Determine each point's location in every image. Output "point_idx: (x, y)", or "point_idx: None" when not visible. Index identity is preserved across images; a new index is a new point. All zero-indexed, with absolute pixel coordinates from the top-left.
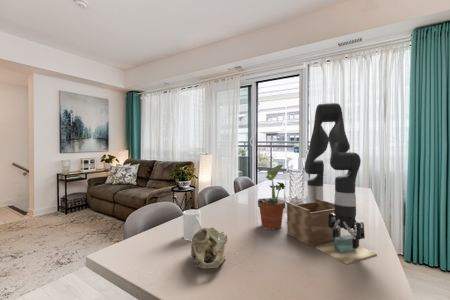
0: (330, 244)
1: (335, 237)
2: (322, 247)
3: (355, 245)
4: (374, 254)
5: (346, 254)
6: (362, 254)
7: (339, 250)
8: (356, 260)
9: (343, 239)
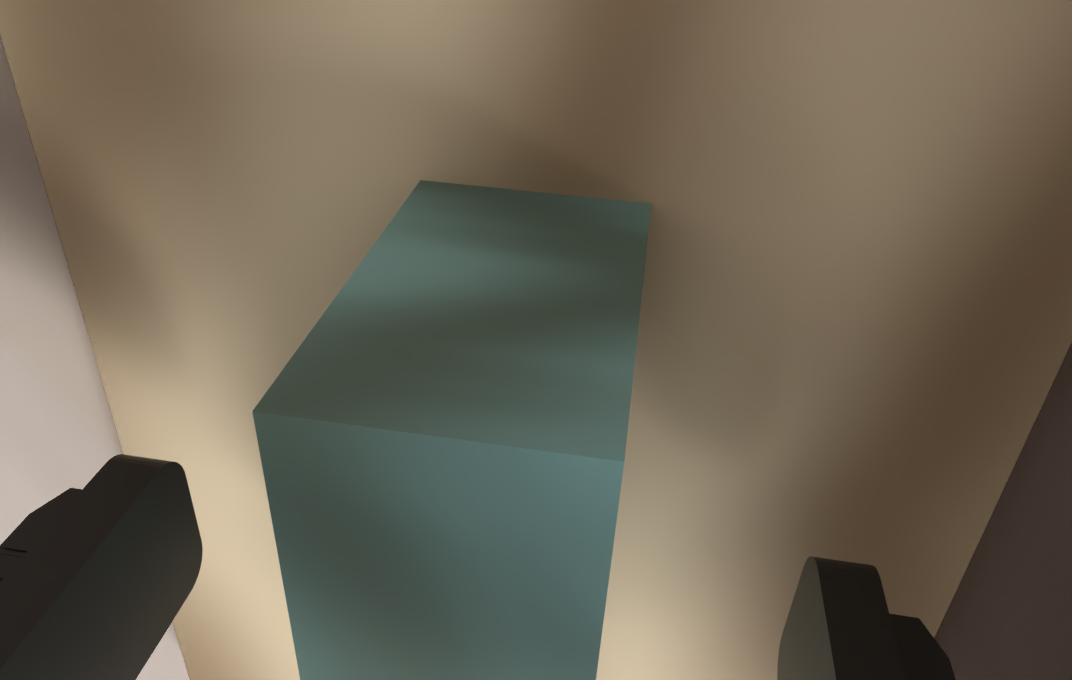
0: (947, 419)
1: (819, 637)
2: (1031, 27)
3: (38, 541)
4: (182, 646)
5: (333, 256)
6: (233, 516)
7: (461, 216)
8: (58, 203)
9: (325, 573)
